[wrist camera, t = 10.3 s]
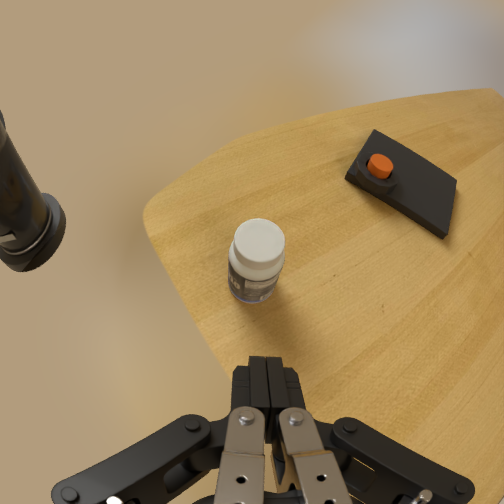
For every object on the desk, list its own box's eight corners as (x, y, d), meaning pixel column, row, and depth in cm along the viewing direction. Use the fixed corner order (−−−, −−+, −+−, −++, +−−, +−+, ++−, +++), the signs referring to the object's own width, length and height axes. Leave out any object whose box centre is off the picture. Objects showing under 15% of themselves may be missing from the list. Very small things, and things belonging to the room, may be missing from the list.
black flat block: (341, 183, 39) (348, 167, 36) (371, 135, 45) (377, 121, 43) (441, 245, 36) (453, 233, 33) (452, 185, 42) (461, 173, 39)
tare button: (364, 170, 37) (367, 162, 36) (371, 158, 38) (374, 150, 37) (385, 183, 36) (390, 175, 35) (391, 169, 38) (395, 162, 36)
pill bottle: (225, 264, 32) (225, 216, 25) (270, 259, 33) (283, 211, 25) (231, 307, 30) (233, 269, 23) (279, 301, 31) (296, 262, 23)
